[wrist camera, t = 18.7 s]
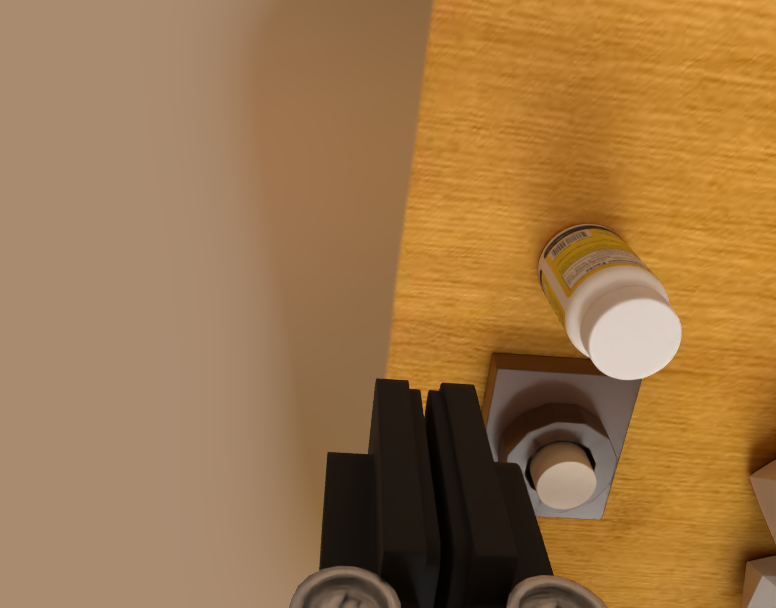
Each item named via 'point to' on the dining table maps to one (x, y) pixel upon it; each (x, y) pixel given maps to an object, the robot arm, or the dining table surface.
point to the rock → (772, 574)
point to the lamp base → (557, 418)
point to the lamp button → (562, 475)
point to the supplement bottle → (609, 302)
